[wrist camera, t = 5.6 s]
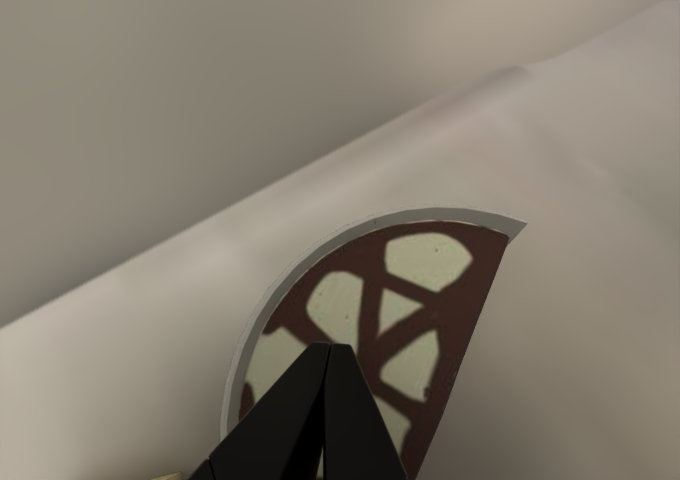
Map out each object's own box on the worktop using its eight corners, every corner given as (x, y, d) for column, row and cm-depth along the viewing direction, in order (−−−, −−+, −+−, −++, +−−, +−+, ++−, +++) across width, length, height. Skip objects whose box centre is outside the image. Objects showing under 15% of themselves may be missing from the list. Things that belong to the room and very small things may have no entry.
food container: (348, 234, 22) (338, 126, 13) (456, 283, 21) (535, 204, 11) (229, 464, 19) (95, 551, 9) (350, 537, 18) (338, 719, 8)
